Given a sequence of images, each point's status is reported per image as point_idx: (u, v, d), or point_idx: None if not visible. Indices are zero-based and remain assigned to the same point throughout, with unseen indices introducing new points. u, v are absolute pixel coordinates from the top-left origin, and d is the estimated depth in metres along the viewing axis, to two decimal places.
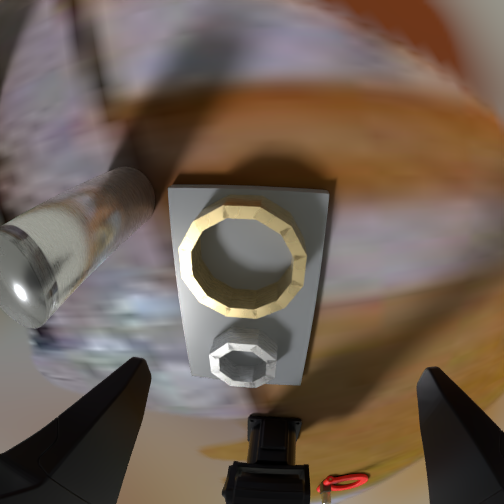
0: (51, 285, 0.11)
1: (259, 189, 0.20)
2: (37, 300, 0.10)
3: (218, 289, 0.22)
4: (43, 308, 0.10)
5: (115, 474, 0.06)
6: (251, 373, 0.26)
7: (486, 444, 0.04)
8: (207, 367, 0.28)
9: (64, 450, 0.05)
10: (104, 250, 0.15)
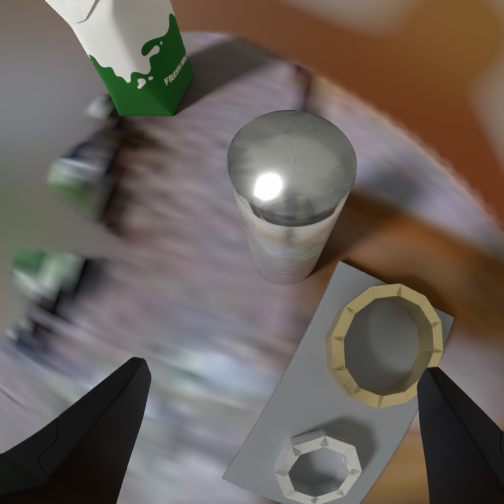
0: (349, 191, 0.11)
1: None
2: (331, 187, 0.10)
3: None
4: (333, 198, 0.10)
5: (115, 474, 0.06)
6: (311, 490, 0.16)
7: (486, 444, 0.04)
8: (252, 473, 0.18)
9: (64, 450, 0.05)
10: (322, 245, 0.16)
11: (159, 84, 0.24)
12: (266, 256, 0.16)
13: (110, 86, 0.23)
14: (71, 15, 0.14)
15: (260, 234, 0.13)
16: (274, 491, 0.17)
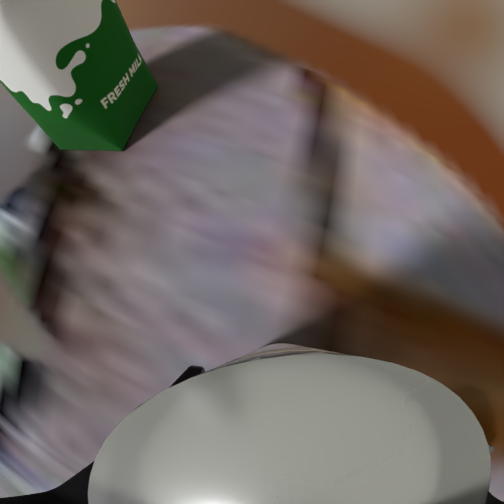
0: None
1: None
2: None
3: None
4: None
5: None
6: None
7: None
8: None
9: None
10: None
11: (94, 108, 0.15)
12: None
13: (32, 116, 0.14)
14: None
15: None
16: None
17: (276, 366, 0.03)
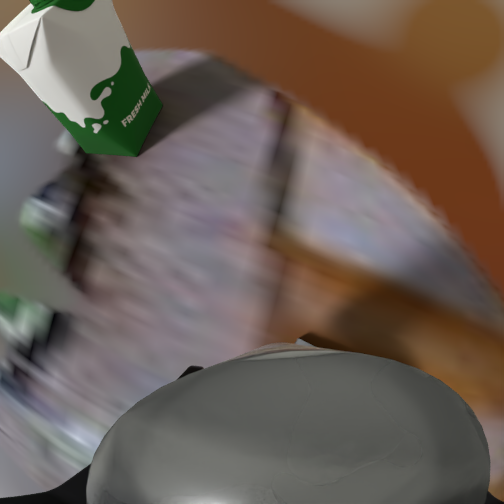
0: None
1: None
2: None
3: None
4: None
5: None
6: None
7: None
8: None
9: None
10: None
11: (116, 126, 0.23)
12: None
13: (68, 129, 0.22)
14: (13, 63, 0.13)
15: None
16: None
17: (274, 362, 0.03)
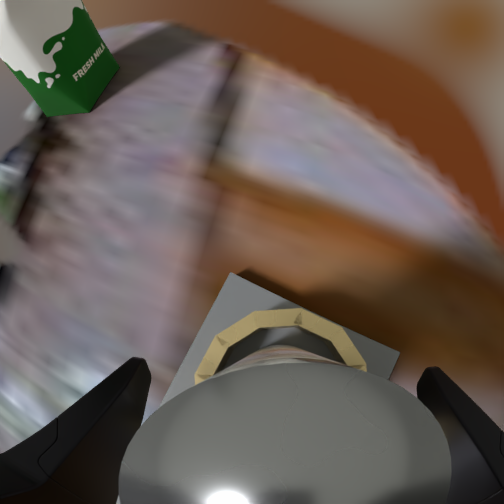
0: None
1: (331, 321, 0.16)
2: None
3: None
4: None
5: (115, 474, 0.06)
6: None
7: (486, 444, 0.04)
8: None
9: (64, 450, 0.05)
10: None
11: (68, 80, 0.20)
12: None
13: (27, 88, 0.19)
14: None
15: None
16: None
17: (270, 371, 0.03)
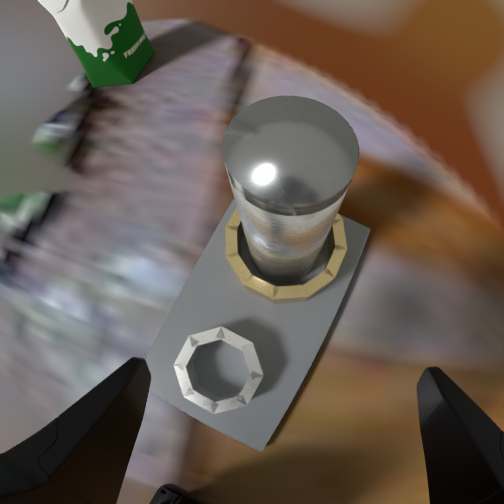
0: None
1: None
2: (332, 173, 0.10)
3: None
4: (335, 184, 0.10)
5: (115, 474, 0.06)
6: (215, 398, 0.19)
7: (486, 444, 0.04)
8: (161, 375, 0.21)
9: (64, 450, 0.05)
10: (323, 238, 0.15)
11: (120, 57, 0.27)
12: (264, 250, 0.16)
13: (83, 61, 0.26)
14: (52, 7, 0.17)
15: (257, 225, 0.13)
16: (182, 399, 0.20)
17: (280, 97, 0.11)
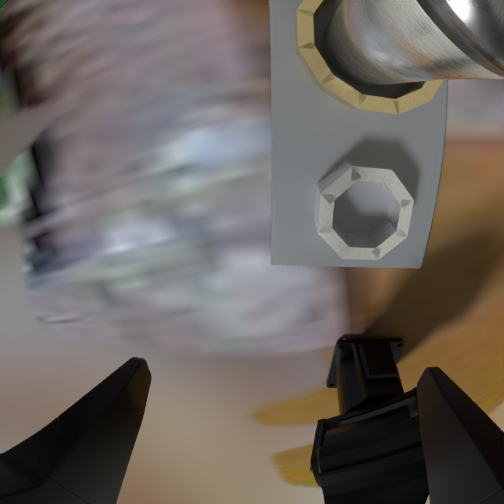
0: None
1: None
2: None
3: None
4: None
5: (115, 474, 0.06)
6: (368, 240, 0.18)
7: (486, 444, 0.04)
8: (298, 243, 0.20)
9: (64, 450, 0.05)
10: None
11: None
12: (410, 78, 0.08)
13: None
14: None
15: (449, 72, 0.06)
16: (331, 255, 0.20)
17: None
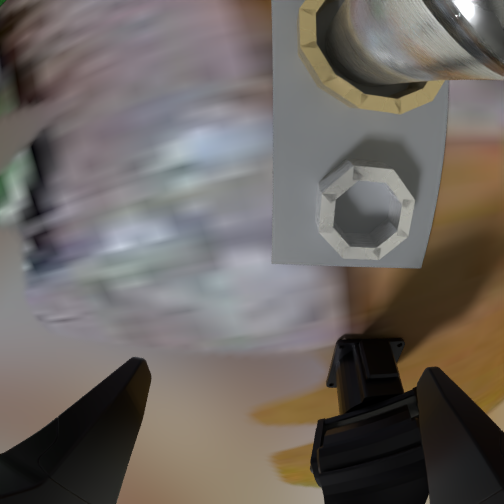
0: None
1: None
2: None
3: None
4: None
5: (115, 474, 0.06)
6: (369, 239, 0.18)
7: (486, 444, 0.04)
8: (298, 243, 0.19)
9: (64, 450, 0.05)
10: None
11: None
12: (413, 78, 0.08)
13: None
14: None
15: (453, 72, 0.05)
16: (331, 254, 0.20)
17: None
